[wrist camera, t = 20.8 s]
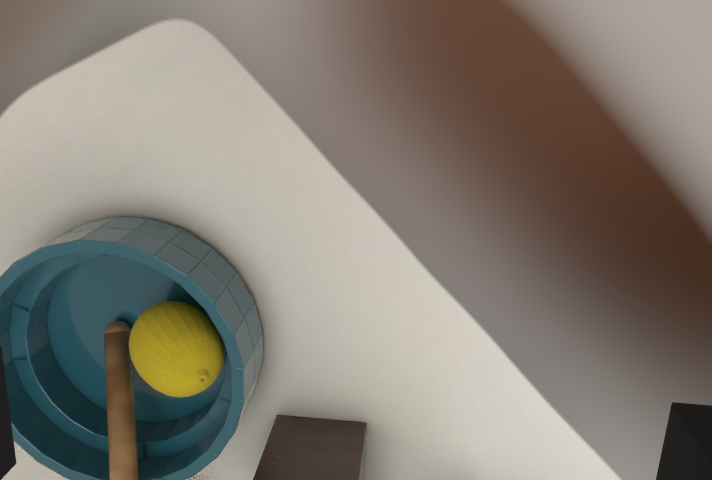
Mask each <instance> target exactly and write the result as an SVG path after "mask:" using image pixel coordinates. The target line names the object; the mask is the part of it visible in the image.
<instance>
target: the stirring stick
mask: <svg viewBox="0 0 712 480" xmlns="http://www.w3.org/2000/svg"><path fill="white" fill-rule="evenodd" d="M130 333H131V329H130V327H129V325H128V324H127V323H125V322H123V321H114V322H112V323H110V324H109V325H108V326H107V327H106V329H105V331H104V349H105V374H106V400H107V426H108V452H109V478H110V480H139V474H138V454H137V434H136V414H135V394H134V375H133V362H132V360H131V357H130V350H129V338H130Z"/></svg>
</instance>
